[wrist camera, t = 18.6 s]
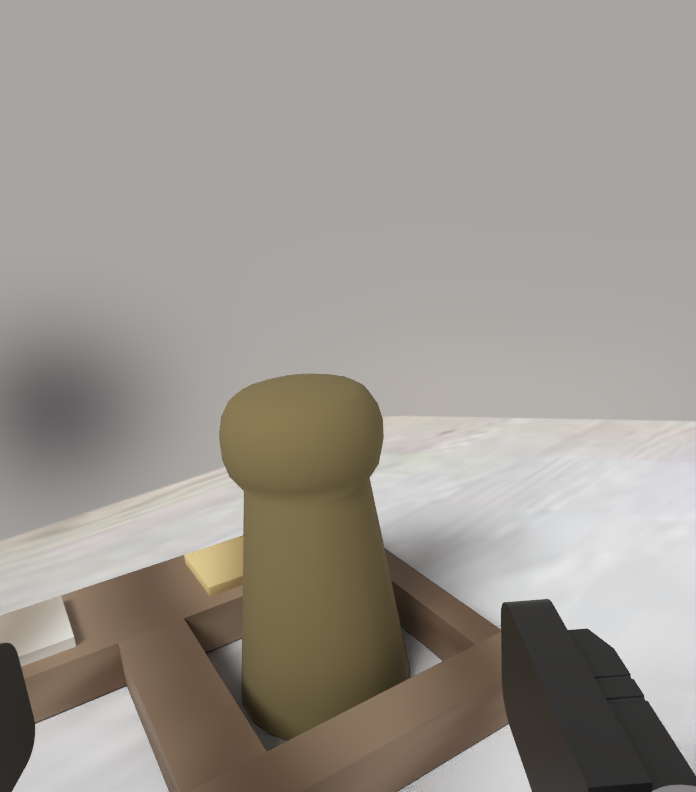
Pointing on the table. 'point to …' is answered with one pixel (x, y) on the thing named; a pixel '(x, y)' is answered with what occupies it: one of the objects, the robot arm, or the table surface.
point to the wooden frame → (215, 706)
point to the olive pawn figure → (311, 551)
